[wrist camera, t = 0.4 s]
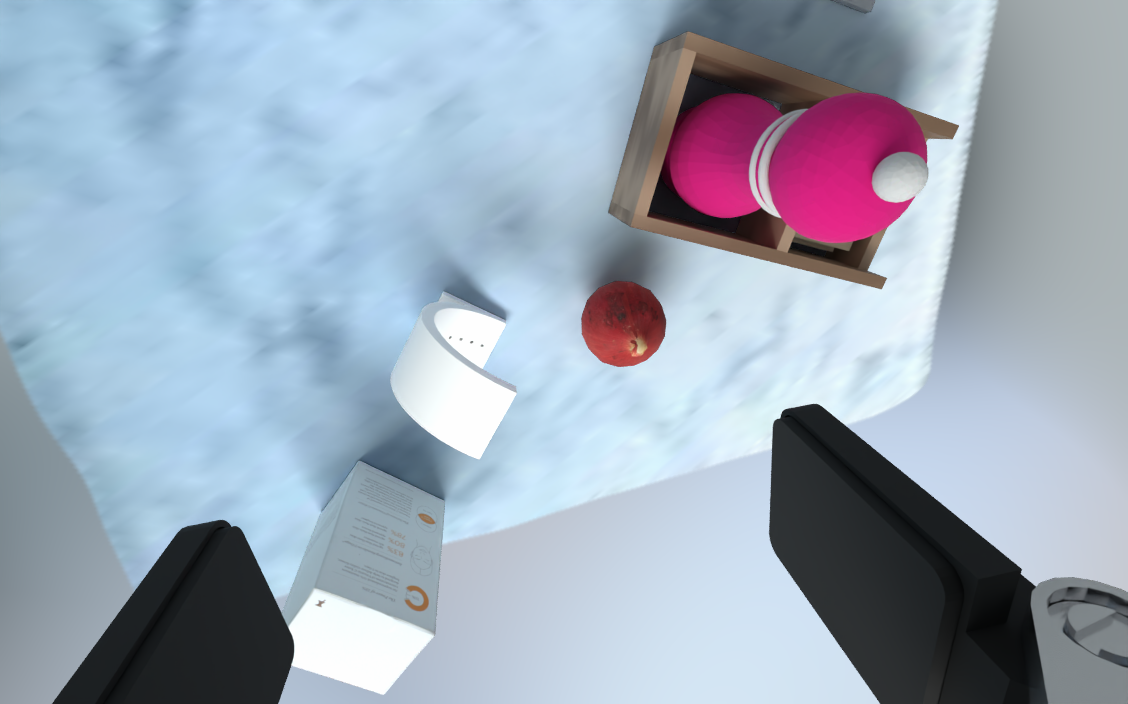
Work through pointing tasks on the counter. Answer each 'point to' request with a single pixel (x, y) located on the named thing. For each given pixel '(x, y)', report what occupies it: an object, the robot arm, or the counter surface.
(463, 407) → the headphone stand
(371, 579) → the small box
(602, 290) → the onion
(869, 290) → the counter surface
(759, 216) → the box
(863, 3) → the mat
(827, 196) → the pepper mill
